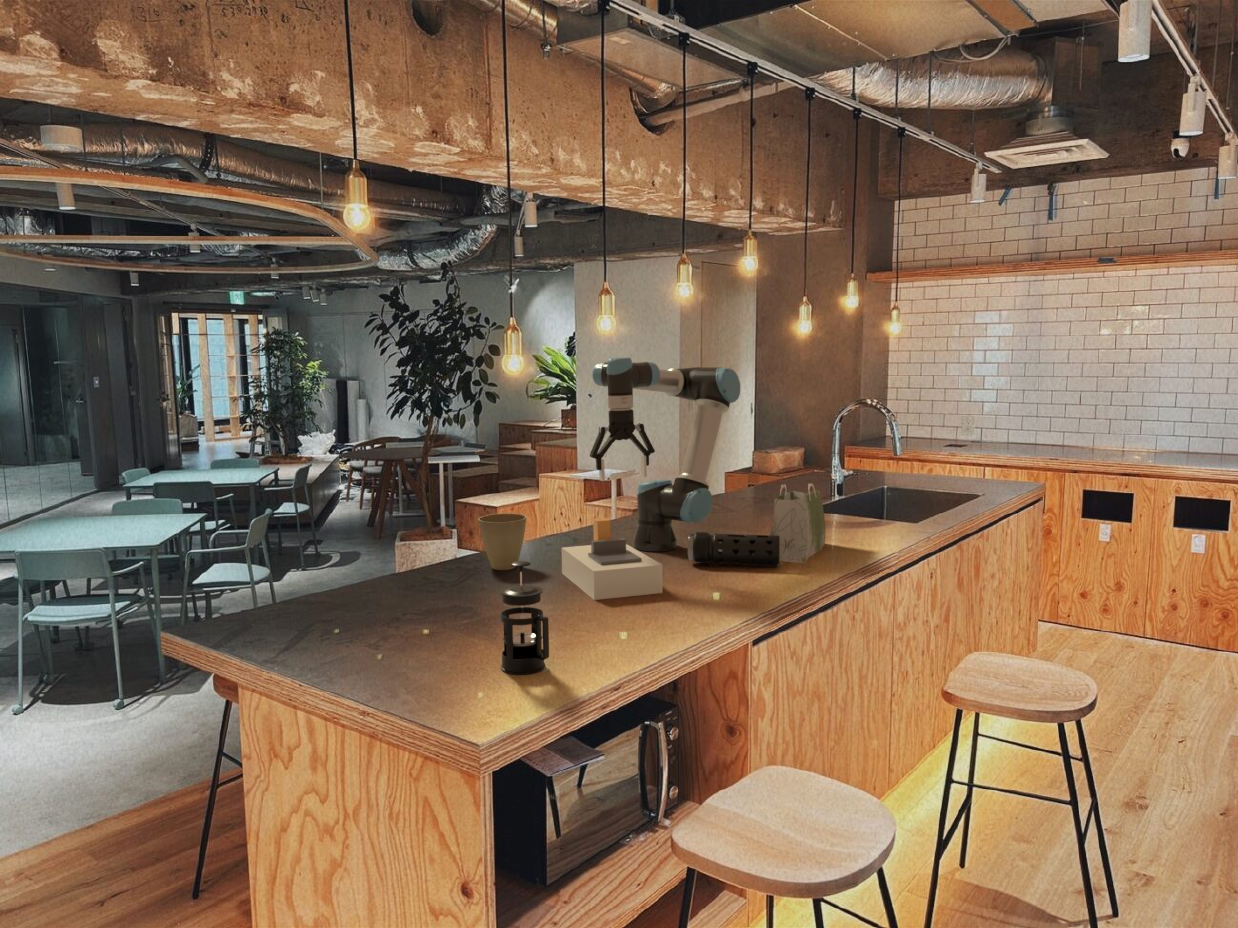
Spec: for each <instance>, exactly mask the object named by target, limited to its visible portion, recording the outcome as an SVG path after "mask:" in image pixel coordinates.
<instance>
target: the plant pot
mask: <svg viewBox="0 0 1238 928" xmlns="http://www.w3.org/2000/svg"><path fill="white" fill-rule="evenodd" d="M477 521H478V524H479V525H478V527H479V530H480V535H481V536H480V537H481V539H482V543H483V547H484V550H485V553H486V555H487V558H488V561H489V563H490V565H491V568H492V569H493V570H497V571H508V570H513V569H515V568H516V567H515V566H511V563H513V562H517V561H519V559H520V555H521V551H522V548H523V543H524V537H525V532H526V524H527V516H526V515H525V514H521V513H506V512H505V513H493V514H487V515H483V516H479V517H478V518H477Z"/></svg>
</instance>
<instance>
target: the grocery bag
mask: <svg viewBox="0 0 1238 928" xmlns="http://www.w3.org/2000/svg"><path fill="white" fill-rule="evenodd" d="M811 487H812V489H813V490H812V491H810V489H811ZM783 489H785V493H784V495H782V491H783ZM807 489H808V491H807V492H801V491H795V490H789V492H787V486H786V484H781V487H780V490H779V495H778V496H777V497H776V498H774V499H773V500H774V501H773V502H774V504H773V505H774V506H773V518H772V525H771V530H770V535H779V537H780V550H779V562H786V563H787V562H788V563H798V564H806V562H807V560H808V559H809V558H810V557H812V556H813V555H815V554H817V553H818V552H819V551H821V550H822V549H823V548H824V546H825V545H826V532H827V531H826V529H827V528H826V527H827V526H826V519H825V512H824V506H823V505H824V504H823V500H822V496H821V491H820V489H815V486H814V484H813V483H808V485H807Z"/></svg>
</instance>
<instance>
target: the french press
mask: <svg viewBox="0 0 1238 928" xmlns="http://www.w3.org/2000/svg"><path fill="white" fill-rule="evenodd" d="M531 564H532V563H531V562H529V561H525V560H518V561H517V562H513V563H511V566H515V568H516V567H517V568H518V572H519V578H520V579H519V581H520V583H519V585H511V586H507V587H503V588H501V589H500V591H499V594H500V595H501V596H502V597H501V598H502V602H503V604H505V605H507V606H508V605H509V606H516V607H512V608H507V609H505V610H503V611H501V613H500V621H501V622H502V623H503V638H502V641H503V649H504V650H502V652H501V666H500V669H501V671H502V672H504V673H506V674H509V675H516V676H526V675H527V676H529V675H533V674H537V673H539V672H542V671H543V670H544V669H545V668H546V663H545V660H547V659H549V658H550V629H549V617H547V616H544V612H543V610H542V609H539V608H538V607H537V608H536V607H531V606H530V605H536V604H538V603H540V602H541V597H542V594H543V592H544V591H543V588H542V587H539V586H537V585H531V584H529V585H528V584H527V585H526V584H525V585H524V584H523V572H524V567H528V566H531ZM516 614H520V618H510V615H516ZM524 614H530V617H528V618H524ZM529 625H530V627H531V632H529V631H528V632H527V631H525V632H524V626H529ZM514 626H521V627H520V628H521V631H520V632H515V633H514V628H513V627H514Z"/></svg>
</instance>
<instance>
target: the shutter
mask: <svg viewBox="0 0 1238 928" xmlns="http://www.w3.org/2000/svg"><path fill="white" fill-rule="evenodd" d="M626 544H627V539H626V538H624V537H622V538H611V539H609V540H596V541H594V540H591V542H590V545H591V553H588V556H589V557H591V558H592V559H594V560H595V561H596V562H598V563H599V564H601V565H604V564H615V563H626V562H636V561H641V558H640V557H639V556H637V555H635V554H633V553H632V552H630V551H628V550H626Z"/></svg>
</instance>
